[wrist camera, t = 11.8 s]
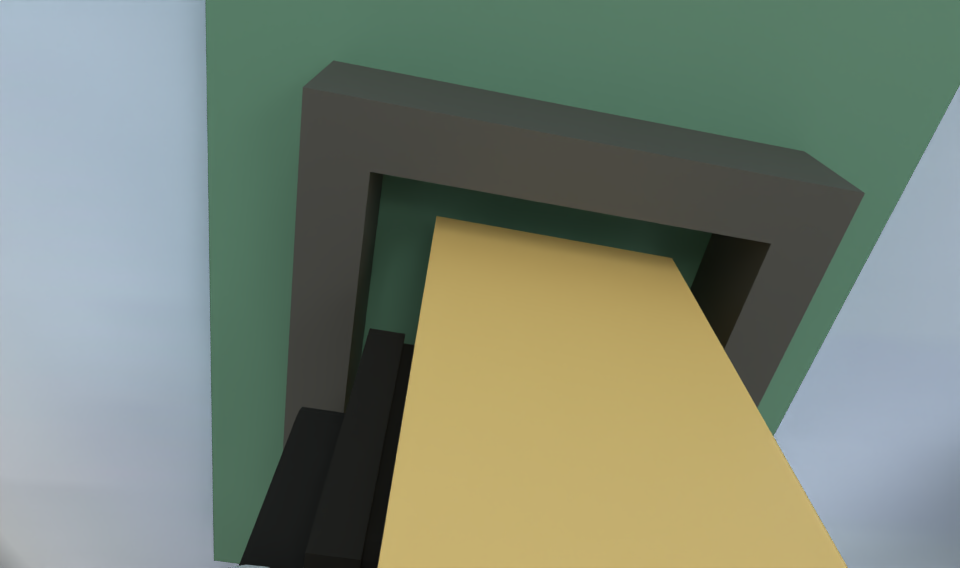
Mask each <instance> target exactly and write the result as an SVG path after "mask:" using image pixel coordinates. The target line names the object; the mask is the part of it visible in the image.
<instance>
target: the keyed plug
mask: <svg viewBox="0 0 960 568" xmlns="http://www.w3.org/2000/svg"><path fill="white" fill-rule="evenodd" d="M414 345H415V346H414V352H413V358H412V364H411V370H410V376H409V382H408V388H407V394H406V400H405V406H404V411H403V417H402V423H401V429H400V435H399V441H398V447H397V453H396V459H395V465H394V471H393V477H392V483H391V489H390V495H389V501H388V507H387V513H386V519H385V525H384V531H383V537H382V543H381V549H380V555H379V561H378V566H377V568H848V567H847V566H846V564H845V562H844V560H843V558H842V557H841V555H840V553H839V551H838V550H837V548H836V546H835V544H834V543H833V541H832V539H831V537H830V536H829V534H828V532H827V530H826V529H825V527H824V525H823V523H822V521H821V520H820V518H819V516H818V514H817V513H816V511H815V509H814V507H813V506H812V504H811V502H810V500H809V499H808V497H807V495H806V493H805V491H804V490H803V488H802V486H801V484H800V483H799V481H798V479H797V477H796V476H795V474H794V472H793V470H792V469H791V467H790V465H789V463H788V462H787V460H786V458H785V456H784V454H783V453H782V451H781V449H780V447H779V446H778V444H777V442H776V440H775V439H774V437H773V435H772V433H771V432H770V430H769V428H768V426H767V425H766V423H765V421H764V419H763V417H762V416H761V414H760V412H759V410H758V409H757V407H756V405H755V403H754V402H753V400H752V398H751V396H750V395H749V393H748V391H747V389H746V388H745V386H744V384H743V382H742V380H741V379H740V377H739V375H738V373H737V372H736V370H735V368H734V366H733V365H732V363H731V361H730V359H729V358H728V356H727V354H726V352H725V351H724V349H723V347H722V345H721V343H720V342H719V340H718V338H717V336H716V335H715V333H714V331H713V329H712V328H711V326H710V324H709V322H708V321H707V319H706V317H705V315H704V314H703V312H702V310H701V308H700V306H699V305H698V303H697V301H696V299H695V298H694V296H693V294H692V292H691V291H690V289H689V287H688V285H687V284H686V282H685V280H684V278H683V277H682V275H681V273H680V271H679V269H678V268H677V266H676V264H675V262H674V261H673V259H672V258H669V257H663V256H658V255H652V254H647V253H641V252H635V251H630V250H624V249H619V248H613V247H608V246H602V245H596V244H591V243H585V242H580V241H574V240H568V239H563V238H557V237H552V236H546V235H541V234H535V233H529V232H524V231H518V230H513V229H507V228H501V227H496V226H490V225H485V224H479V223H474V222H468V221H462V220H457V219H451V218H446V217H440V216H436V222H435V228H434V233H433V239H432V245H431V251H430V257H429V262H428V268H427V274H426V280H425V286H424V292H423V297H422V303H421V309H420V315H419V321H418V326H417V332H416V338H415V344H414Z"/></svg>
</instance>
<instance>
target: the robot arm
mask: <svg viewBox="0 0 960 568" xmlns="http://www.w3.org/2000/svg"><path fill="white" fill-rule="evenodd" d="M404 340H405V334H403V333H397V332H391V331H384V330H378V329H372V328H370V329H369V332H368V335H367V339H366V342H365V346H364V349H363V353H362V356H361V360H360V363H359V367H358V370H357V374H356V377H355V381H354V384H353V388H352V391H351V395H350V398H349V402H348V405H347V408H346V412H345V413H342V412H335V411H328V410H322V409H315V408H308V407H301V409H300V410H299V412H298V414H297V416H296V419H295V421H294V424H293V426H292V429H291V432H290V434H289V437H288V439H287V442H286V445H285V447H284V450H283V452H282V455H281V458H280V460H279V463H278V465H277V468H276V471H275V473H274V476H273V478H272V481H271V483H270V486H269V489H268V491H267V494H266V496H265V499H264V502H263V504H262V507H261V509H260V512H259V515H258V517H257V520H256V522H255V525H254V528H253V530H252V533H251V535H250V538H249V540H248V543H247V546H246V548H245V551H244V553H243V556H242V559H241V561H240V564H239V566H235V567H229V568H377V566H378V561H379V555H380V549H381V543H382V537H383V531H384V525H385V519H386V513H387V507H388V501H389V495H390V489H391V483H392V477H393V471H394V465H395V459H396V453H397V447H398V441H399V435H400V429H401V423H402V417H403V411H404V406H405V400H406V394H407V388H408V382H409V376H410V370H411V364H412V358H413V352H414V346H415V345H412V344H406V343H404Z"/></svg>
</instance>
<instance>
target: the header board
mask: <svg viewBox="0 0 960 568" xmlns="http://www.w3.org/2000/svg"><path fill="white" fill-rule="evenodd" d="M206 65H207V131H208V198H209V264H210V331H211V397H212V464H213V531H214V561H222V562H230V563H238V564H240V561H241V559H242V556H243V553H244V551H245V548H246V546H247V543H248V540H249V538H250V535H251V533H252V530H253V528H254V525H255V522H256V520H257V517H258V515H259V512H260V509H261V507H262V504H263V502H264V499H265V496H266V494H267V491H268V489H269V486H270V483H271V481H272V478H273V476H274V473H275V471H276V468H277V465H278V463H279V460H280V458H281V455H282V452H283V450H284V447H285V445H286V442H287V439H288V437H289V434H290V432H291V429H292V426H293V424H294V421H295V419H296V416H297V414H298V412H299V410H300V409H301V407H308V408H315V409H322V410H328V411H335V412H342V413H345V412H346V408H347V405H348V402H349V398H350V395H351V391H352V388H353V384H354V381H355V377H356V374H357V370H358V367H359V363H360V360H361V356H362V353H363V349H364V346H365V342H366V339H367V335H368V332H369V329H370V328H372V329H378V330H384V331H391V332H397V333H403V334H405V340H404V343H406V344H412V345H414V344H415V338H416V332H417V326H418V321H419V315H420V309H421V303H422V297H423V292H424V286H425V280H426V274H427V268H428V262H429V257H430V251H431V245H432V239H433V233H434V228H435V222H436V216H440V217H446V218H451V219H457V220H462V221H468V222H474V223H479V224H485V225H490V226H496V227H501V228H507V229H513V230H518V231H524V232H529V233H535V234H541V235H546V236H552V237H557V238H563V239H568V240H574V241H580V242H585V243H591V244H596V245H602V246H608V247H613V248H619V249H624V250H630V251H635V252H641V253H647V254H652V255H658V256H663V257H669V258H672V259H673V261H674V262H675V264H676V266H677V268H678V269H679V271H680V273H681V275H682V277H683V278H684V280H685V282H686V284H687V285H688V287H689V289H690V291H691V292H692V294H693V296H694V298H695V299H696V301H697V303H698V305H699V306H700V308H701V310H702V312H703V314H704V315H705V317H706V319H707V321H708V322H709V324H710V326H711V328H712V329H713V331H714V333H715V335H716V336H717V338H718V340H719V342H720V343H721V345H722V347H723V349H724V351H725V352H726V354H727V356H728V358H729V359H730V361H731V363H732V365H733V366H734V368H735V370H736V372H737V373H738V375H739V377H740V379H741V380H742V382H743V384H744V386H745V388H746V389H747V391H748V393H749V395H750V396H751V398H752V400H753V402H754V403H755V405H756V407H757V409H758V410H759V412H760V414H761V416H762V417H763V419H764V421H765V423H766V425H767V426H768V428H769V430H770V432H771V433H772V435H773V436H774V434H775V432H776V430H777V428H778V426H779V424H780V423H781V421H782V419H783V417H784V415H785V413H786V411H787V409H788V408H789V406H790V404H791V402H792V400H793V398H794V396H795V394H796V392H797V391H798V389H799V387H800V385H801V383H802V381H803V379H804V377H805V376H806V374H807V372H808V370H809V368H810V366H811V364H812V362H813V360H814V359H815V357H816V355H817V353H818V351H819V349H820V347H821V345H822V343H823V342H824V340H825V338H826V336H827V334H828V332H829V330H830V328H831V327H832V325H833V323H834V321H835V319H836V317H837V315H838V313H839V311H840V310H841V308H842V306H843V304H844V302H845V300H846V298H847V296H848V294H849V293H850V291H851V289H852V287H853V285H854V283H855V281H856V279H857V278H858V276H859V274H860V272H861V270H862V268H863V266H864V264H865V262H866V261H867V259H868V257H869V255H870V253H871V251H872V249H873V247H874V246H875V244H876V242H877V240H878V238H879V236H880V234H881V232H882V230H883V229H884V227H885V225H886V223H887V221H888V219H889V217H890V215H891V213H892V212H893V210H894V208H895V206H896V204H897V202H898V200H899V198H900V197H901V195H902V193H903V191H904V189H905V187H906V185H907V183H908V181H909V180H910V178H911V176H912V174H913V172H914V170H915V168H916V166H917V164H918V163H919V161H920V159H921V157H922V155H923V153H924V151H925V149H926V148H927V146H928V144H929V142H930V140H931V138H932V136H933V134H934V132H935V131H936V129H937V127H938V125H939V123H940V121H941V119H942V117H943V116H944V114H945V112H946V110H947V108H948V106H949V104H950V102H951V100H952V99H953V97H954V95H955V93H956V91H957V89H958V87H959V85H960V0H206Z"/></svg>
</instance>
